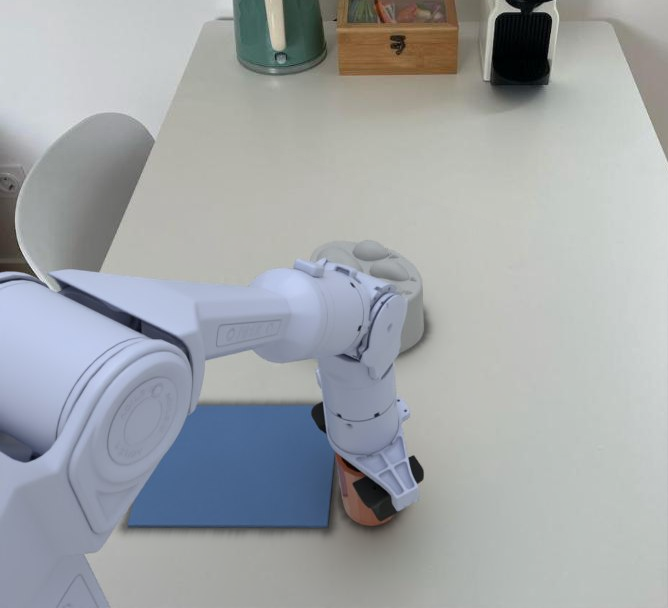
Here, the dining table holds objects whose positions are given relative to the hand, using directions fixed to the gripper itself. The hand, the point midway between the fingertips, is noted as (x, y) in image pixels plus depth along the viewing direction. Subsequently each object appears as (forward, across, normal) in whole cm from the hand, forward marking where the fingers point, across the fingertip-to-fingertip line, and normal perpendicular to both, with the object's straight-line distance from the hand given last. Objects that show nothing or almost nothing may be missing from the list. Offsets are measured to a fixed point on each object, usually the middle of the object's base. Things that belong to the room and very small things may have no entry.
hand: (370, 484), depth 72 cm
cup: (+2, 0, 0) cm, 2 cm away
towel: (+2, +10, +9) cm, 14 cm away
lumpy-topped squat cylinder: (+3, +19, -10) cm, 22 cm away
